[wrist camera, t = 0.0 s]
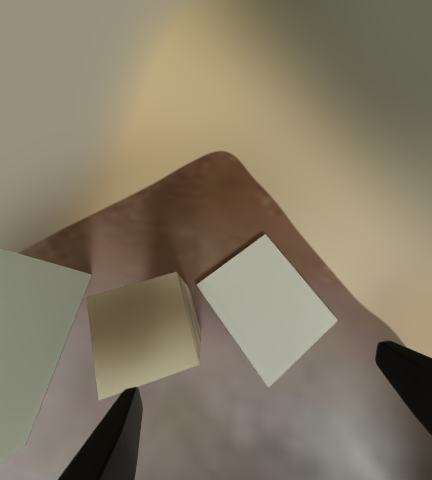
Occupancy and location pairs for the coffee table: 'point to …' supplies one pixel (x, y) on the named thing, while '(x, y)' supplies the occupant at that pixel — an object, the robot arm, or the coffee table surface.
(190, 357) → the birch block
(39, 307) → the sage screen
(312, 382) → the coffee table surface
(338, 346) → the coffee table surface
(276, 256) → the grey pad
